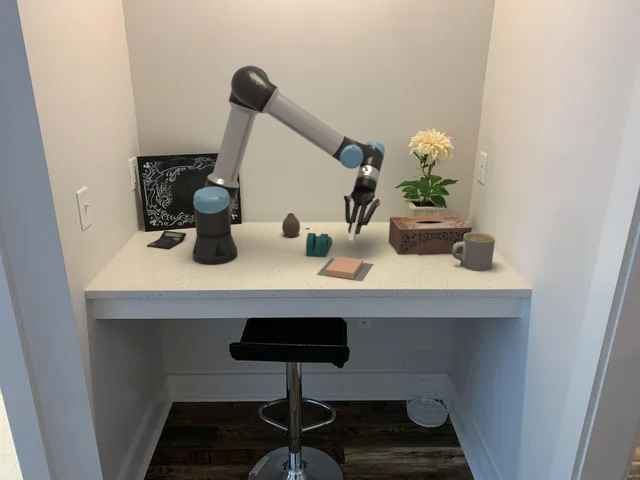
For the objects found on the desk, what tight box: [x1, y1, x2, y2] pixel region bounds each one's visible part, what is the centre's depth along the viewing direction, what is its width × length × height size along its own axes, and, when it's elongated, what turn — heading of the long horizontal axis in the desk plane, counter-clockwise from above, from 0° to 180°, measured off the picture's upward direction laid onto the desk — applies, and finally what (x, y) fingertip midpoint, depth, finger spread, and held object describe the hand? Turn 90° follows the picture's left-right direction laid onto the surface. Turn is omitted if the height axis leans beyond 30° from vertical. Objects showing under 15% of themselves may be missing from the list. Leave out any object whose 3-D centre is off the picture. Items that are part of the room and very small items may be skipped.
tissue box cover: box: [388, 215, 473, 256], centre depth 183 cm, size 26×14×10 cm, turn 96°
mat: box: [316, 257, 375, 282], centre depth 164 cm, size 15×15×1 cm
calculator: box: [146, 230, 187, 251], centre depth 187 cm, size 9×12×3 cm
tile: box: [326, 256, 364, 280], centre depth 163 cm, size 9×2×12 cm
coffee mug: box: [451, 231, 496, 272], centre depth 167 cm, size 13×10×10 cm
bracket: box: [305, 232, 333, 258], centre depth 182 cm, size 18×7×8 cm, turn 170°
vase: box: [281, 212, 301, 238], centre depth 195 cm, size 7×7×9 cm
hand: (351, 241), depth 167 cm, fingers closed
